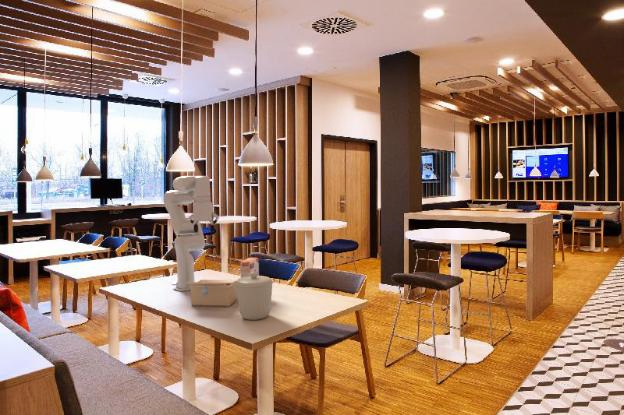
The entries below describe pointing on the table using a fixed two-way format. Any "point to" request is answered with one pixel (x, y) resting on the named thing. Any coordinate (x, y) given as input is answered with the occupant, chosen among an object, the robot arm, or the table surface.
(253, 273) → the canister
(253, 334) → the table surface
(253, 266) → the cracker box
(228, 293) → the carton
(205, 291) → the near flap
